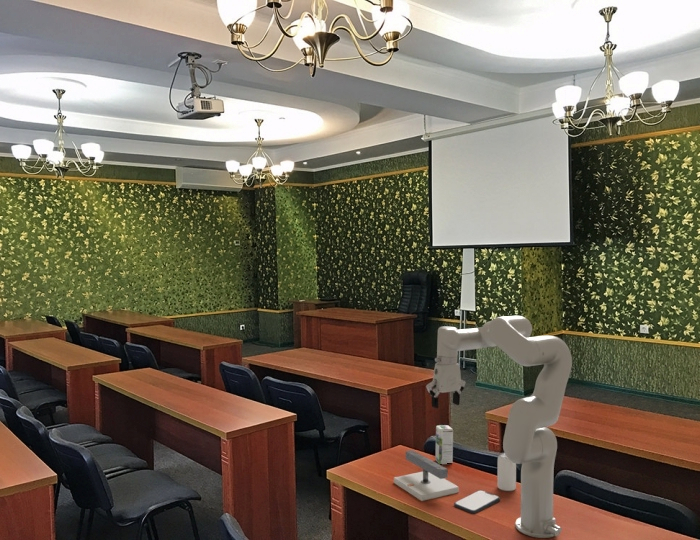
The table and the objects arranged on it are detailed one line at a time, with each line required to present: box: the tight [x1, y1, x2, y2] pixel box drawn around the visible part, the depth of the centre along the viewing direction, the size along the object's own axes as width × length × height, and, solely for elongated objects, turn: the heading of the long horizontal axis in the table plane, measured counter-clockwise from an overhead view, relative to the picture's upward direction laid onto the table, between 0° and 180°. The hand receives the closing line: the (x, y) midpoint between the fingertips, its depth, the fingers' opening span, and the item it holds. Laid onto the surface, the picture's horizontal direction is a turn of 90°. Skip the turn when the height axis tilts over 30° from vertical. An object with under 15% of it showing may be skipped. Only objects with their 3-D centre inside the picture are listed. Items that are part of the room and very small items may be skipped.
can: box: [497, 452, 517, 492], centre depth 206 cm, size 6×6×12 cm
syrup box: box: [435, 424, 454, 465], centre depth 233 cm, size 6×6×14 cm
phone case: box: [453, 489, 501, 514], centre depth 193 cm, size 9×2×16 cm
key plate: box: [393, 471, 460, 502], centre depth 206 cm, size 18×16×2 cm
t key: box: [405, 449, 449, 483], centre depth 206 cm, size 22×3×8 cm, turn 28°
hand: (445, 405), depth 210 cm, fingers open, 9 cm apart
